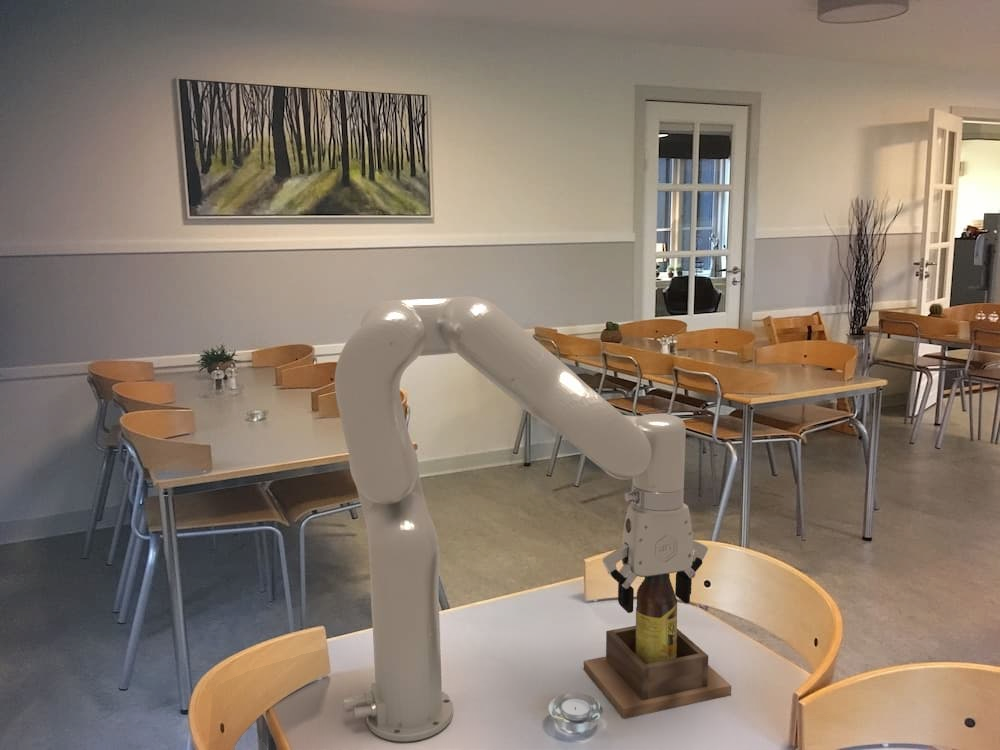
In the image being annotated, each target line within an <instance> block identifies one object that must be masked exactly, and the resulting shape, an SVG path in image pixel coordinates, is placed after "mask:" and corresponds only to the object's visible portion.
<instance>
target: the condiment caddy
mask: <svg viewBox="0 0 1000 750" xmlns="http://www.w3.org/2000/svg"><path fill="white" fill-rule="evenodd" d="M605 635H606V637H605V639H606V640H605V641H606V642H605V644H606V646H605V652H606V654H605V656H601V657H596V658H590V659H585V660H583V671H584V672H585V673H586V674H587V675H588V677H589V678H590V679H591V681H592V682H593V683H594V684H595V685H596V687H597V688H598V689H599V691H600V692H601V693H602V694H603V696H605V698H606V699H607V700H608V701H609V703H610V704H611V705H612V707H613V708H614V709H615V710H616V711H617V712H618V714H619V715H620V716H621V717H622V718H623V719H624V718H625V719H628V718H633V717H638V716H641V715H645V714H646V715H647V714H650V713H654V712H660V711H664V710H669V709H674V708H678V707H683V706H687V705H690V704H695V703H699V702H704V701H708V700H713V699H714V700H715V699H718V698H722V697H727V696H730V695H732V684H731V683H729V682H728V681H727V680H726V679H724V677H722V676H721V675H720V674H719V673H718V672H717V671H716V670H715V669H713V667H712V666H710V665H709V655H708V654H707V653H706V652H705V651H703V650H702V649H701V648H700V647H699V646H698V645H696V643H695V642H693V641H692V640H691V639H690V638H689V637H688V636H686V635H685V634H684V633H683V632H682V631H681V630H679V629H678V628H677V652H676V658H675V659H670V660H665V661H660V662H655V663H650V664H645V663H644V662H643V661H642V660H641V659H640V658H639V657H638V656H637V655H636V625H632V626H627V627H621V628H615V629H610V630H606V633H605Z"/></svg>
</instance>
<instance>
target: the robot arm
mask: <svg viewBox="0 0 1000 750" xmlns="http://www.w3.org/2000/svg"><path fill="white" fill-rule="evenodd" d="M448 354H449V355H450V354H457V355H458V356H459V357H460V358H462V359H463V360H464V361H466V362H467V363H468V364H469V365H470V366H472V367H473V368H474V369H475V370H477V371H478V373H480V374H481V375H483V376H484V377H485V378H486V379H487V380H489V381H490V382H491V383H492V384H493V385H495V386H496V387H497V388H499V390H501V391H502V392H503V393H504V394H506V395H507V396H508V397H509V398H510V399H512V400H513V401H514V402H515V403H516V404H518V406H520V407H521V408H523V409H524V410H525V411H526V412H528V414H530V415H531V416H533V417H534V418H535V419H537V420H538V421H540V422H541V423H543V424H545V425H546V426H548V427H550V428H552V429H553V430H554V431H555V432H557V433H558V434H559V435H560V436H561V437H563V438H564V439H565V440H567V441H568V442H569V443H571V444H572V445H573V446H575V447H576V448H577V449H578V450H579V451H580V452H581V453H582V454H584V455H585V456H586V457H587V458H588V459H589V460H591V461H592V462H593V463H594V464H595V465H597V466H598V467H599V468H600V469H602V471H604V472H605V473H606V474H608V475H609V476H611V477H613V478H615V479H618V480H632V485H631V491H629V492H625V494H624V500H625V502H627V503H630V504H628V505H627V511H626V515H625V518H624V523H623V524H624V525H623V531H622V541H621V545H620V547H618V548H616V549H615V550H613V551H612V552H610V553H609V554H608V555H606V556H605V557H603V559H602V563H603V566H604V567H605V569H606V571H607V573H608V575H609V576H611V578H613V579H614V580H615V581H616V582H617V585H618V587H617V589H618V590H617V602H618V605H619V606H620V607H621V608H622V609H623V610H624V611H626V613H627V614H633V612H634V595H635V594H634V591H635V590H634V587H632V586H631V585H633V582H634V581H635V580H636V579H637V577H640V578H645V577H648V576H655V575H662V574H669V575H670V574H674V573H675V587H674V588H675V589H674V590H675V591H674V593H675V596H676V598H677V599H679V600H681V601H682V603H684V604H690V603H691V594H692V584H693V582H692V579H693V578H695V576H696V572H697V571H698V570H699V568H700V567H701V566H702V565H703V560H704V558H705V556H706V554H707V552H708V546H706V545H705V544H703V543H701V542H699V541H696V540H694V538H693V537H694V535H693V526H692V519H691V513H690V510H689V509H690V508H689V505H687V504H686V503H684V494H685V490H684V489H685V462H686V459H685V458H686V436H687V435H686V433H687V431H686V429H687V428H686V424H685V421H684V420H683V419H682V418H681V417H679V416H676V415H672V414H667V413H647V414H643V415H624V414H622V413H621V412H620V411H619V410H618V409H617V408H616V407H615V406H614V405H612V404H611V403H610V402H608V401H607V400H606V399H605V398H603V396H601V395H600V394H599V393H597V391H595V390H594V389H593V388H591V386H589V385H588V384H587V383H586V382H584V380H582V379H581V377H579V376H578V374H576V373H575V372H574V371H573V370H572V369H570V367H568V365H566V364H565V363H564V362H562V361H561V360H560V359H559V358H558V357H557V356H555V354H553V353H552V352H550V350H548V349H547V348H546V347H545V346H544V345H543V344H541V342H539V341H538V340H536V339H535V338H534V337H533V336H532V335H531V334H530V333H528V332H527V331H526V330H525V329H524V328H523V327H522V326H520V325H519V324H518V323H517V322H515V320H513V319H512V318H511V317H510V316H509V315H508V314H507V313H506V312H505V311H503V310H502V309H501V308H500V307H498V306H497V305H495V304H494V303H492V302H490V301H489V300H487V299H483V298H480V297H478V296H477V297H476V296H472V295H471V296H469V295H467V296H466V295H465V296H463V295H462V296H452V297H449V296H448V297H436V298H408V299H406V298H405V299H388V300H383V301H379V302H378V303H375V304H374V305H372V306H370V308H369V309H368V310H367V311H366V312H365V313H364V314H363V317H362V319H361V322H360V326H359V327H358V329H356V330H355V332H354V333H353V334H352V335H351V336H350V337H349V339H348V340H347V342H346V343H345V344H344V346H343V347H342V350H341V352H340V355H339V357H338V360H337V363H336V367H335V373H334V392H335V398H336V399H335V400H336V403H337V408H338V412H339V413H338V414H339V417H340V421H341V426H342V432H343V436H344V439H345V445H346V448H347V451H348V453H347V454H348V463H349V471H350V474H351V475H350V476H351V478H352V480H353V482H354V484H355V486H356V491H357V494H358V495H357V496H358V498H359V503H360V505H361V509H362V513H363V517H364V521H365V525H366V537H367V544H368V560H369V561H368V562H369V563H368V564H369V576H370V580H369V581H370V601H371V603H370V604H371V606H370V607H371V620H372V636H373V637H372V639H373V640H372V641H373V659H374V678H375V679H374V681H375V682H373V683H371V684H370V689H371V690H369V691H365V692H364V695H363V694H362V695H357V696H356V695H355V696H350V697H349V696H348V697H344V698H343V699H342V707H343V712H344V713H345V714H346V713H350V712H353V714H354V719H356V720H357V719H362V718H365V722H366V725H367V728H369V730H370V731H371V732H372V733H373V734H374V735H376V736H378V737H380V738H382V739H386V740H388V741H394V742H404V743H405V742H416V741H420V740H421V741H422V740H424V739H427V738H430V737H433V736H434V735H437V734H438V733H439V732H441V731H442V730H444V729H446V727H447V726H448V725H449V723H450V722H451V721H452V719H453V715H454V707H453V701H452V699H451V698H450V696H449V695H448V694H447V693H446V692H444V691H442V690H443V688H442V687H443V686H442V658H441V655H442V654H441V651H442V650H441V627H440V623H441V620H440V603H439V601H440V600H439V599H440V598H439V595H440V594H439V580H440V579H439V578H440V577H439V576H440V560H441V558H440V555H441V553H440V550H441V549H440V543H439V537H438V532H437V530H436V527H435V524H434V521H433V519H432V516H431V514H430V512H429V511H430V510H429V509H428V506H427V505H428V504H427V502H426V497H425V495H424V490H423V487H422V486H423V485H422V482H421V478H420V473H419V460H418V453H417V452H416V449H415V447H414V444H413V441H412V440H411V436H410V433H409V429H408V424H407V421H406V416H405V412H404V405H403V401H402V395H401V392H400V391H401V389H400V386H401V383H400V382H401V379H402V376H403V374H404V372H405V371H406V369H407V368H408V367H409V366H411V364H412V363H413V362H415V360H417V359H418V358H419V357H422V356H425V357H426V356H441V355H448ZM620 561H621V562H622V567H621V568H620V569H619V570H618V568H617V564H618V563H619V562H620Z"/></svg>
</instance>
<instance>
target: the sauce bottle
mask: <svg viewBox="0 0 1000 750" xmlns="http://www.w3.org/2000/svg"><path fill="white" fill-rule="evenodd" d="M670 578H671V577H670V573H669V574H662V575H655V576H648V577H644V579H643V581H642V582H641V583H640V585H639V586H638V588H637V591H636V608H635V626H636V655H637V656H638V657H639V658H640V659H641V660H642V661H643V662H644V663H645V664H650V663H655V662H660V661H665V660H670V659H675V658H676V652H677V629H678V598H677V596H676V595H675V591H674V590H675V589H674V588H673V584H672V582H671V579H670Z"/></svg>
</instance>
